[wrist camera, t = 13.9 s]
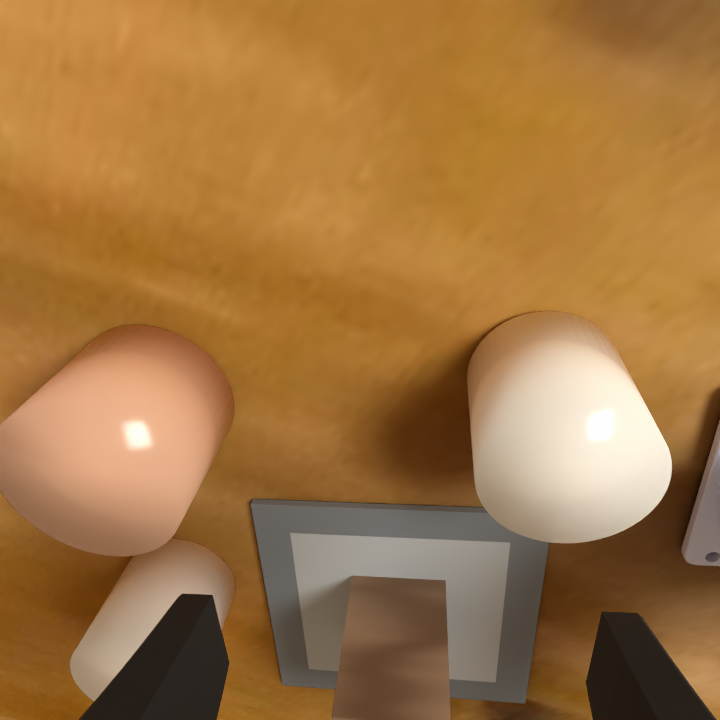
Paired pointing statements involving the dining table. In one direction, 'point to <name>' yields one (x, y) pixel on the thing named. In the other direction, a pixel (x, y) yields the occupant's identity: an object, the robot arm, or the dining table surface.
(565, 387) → the cream rounded cylinder
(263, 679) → the dining table surface
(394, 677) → the walnut block
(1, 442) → the peach rounded blob
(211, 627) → the robot arm
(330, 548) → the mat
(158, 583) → the cream rounded capsule
